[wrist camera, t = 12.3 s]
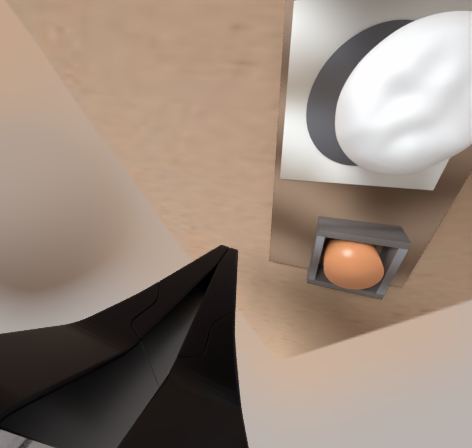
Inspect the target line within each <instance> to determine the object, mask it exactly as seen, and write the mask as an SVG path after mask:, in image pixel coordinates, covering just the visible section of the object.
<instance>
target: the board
mask: <svg viewBox="0 0 472 448" xmlns="http://www.w3.org/2000/svg"><path fill="white" fill-rule="evenodd" d="M450 11H472V0H286V6H285V21H284V37H283V53H282V68H281V84H280V100H279V115H278V131H277V147H276V162H275V178H274V194H273V209H272V225H271V241H270V256H269V261H273V262H277V263H282V264H287V265H292V266H297V267H302V268H307V269H308V278H307V283H309V284H314V285H318V286H323V287H327V288H332V289H336V290H341V291H345V292H350V293H354V294H359V295H363V296H368V297H372V298H377V299H381V300H382V298H383V296H384V294H385V292H386V290H387V288H388V287H389V285H392V286H397V287H402V286H403V285H404V283H405V281H406V280H407V278H408V276H409V275H410V273H411V271H412V270H413V268H414V266H415V265H416V263H417V261H418V260H419V258H420V256H421V255H422V253H423V251H424V250H425V248H426V246H427V244H428V243H429V241H430V239H431V238H432V236H433V234H434V233H435V231H436V229H437V228H438V226H439V224H440V223H441V221H442V219H443V218H444V216H445V214H446V213H447V211H448V209H449V208H450V206H451V204H452V202H453V201H454V199H455V197H456V196H457V194H458V192H459V191H460V189H461V187H462V186H463V184H464V182H465V181H466V179H467V177H468V176H469V174H470V172H471V171H472V144H471V145H470V146H469V147H468V148H466V149H465V150H463V151H462V152H460V153H458V154H456V155H454V156H452V157H450V158H448V159H446V160H444V161H442V162H440V163H438V164H436V165H433V166H431V167H429V168H426V169H424V170H421V171H418V172H414V173H409V174H402V175H389V174H382V173H377V172H373V171H369V170H367V169H364V168H362V167H360V166H358V165H357V164H355V163H354V162H353V161H351V160H350V159H349V158H348V157H347V156H346V154H345V153H344V152H343V150H342V149H341V147H340V145H339V143H338V141H337V137H336V132H335V114H336V107H337V102H338V99H339V96H340V93H341V91H342V89H343V86H344V84H345V83H346V81H347V79H348V77H349V76H350V74H351V73H352V71H353V70H354V69H355V67H356V66H357V65H358V63H359V62H360V61H361V60H362V59H363V58H364V57H365V56H366V55H367V54H368V53H369V52H370V51H371V50H372V49H373V48H374V47H375V46H376V45H378V44H379V43H380V42H381V41H383V40H384V39H385V38H386V37H388V36H389V35H391V34H392V33H393V32H395V31H396V30H398V29H400V28H401V27H403V26H405V25H407V24H409V23H411V22H413V21H416V20H418V19H421V18H424V17H427V16H430V15H434V14H438V13H443V12H450ZM327 238H334V239H341V240H348V241H354V242H361V243H367V244H374V245H376V248H377V251H378V253H379V256H380V259H381V262H382V264H383V267H384V275H383V277H382V279H381V280H380V281H379V282H378V283H377V284H375V285H374V286H372V287H369V288H366V289H359V290H352V289H345V288H342V287H339V286H337V285H335V284H333V283H332V282H330V281H329V280H328V278H327V277H326V275H325V273H324V253H323V247H324V243H325V241H326V240H327Z"/></svg>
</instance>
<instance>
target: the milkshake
mask: <svg viewBox="0 0 472 448" xmlns="http://www.w3.org/2000/svg"><path fill="white" fill-rule="evenodd" d="M335 132H336V137H337V141H338V143H339V145H340V147H341V149H342V150H343V152H344V153H345V154H346V156H347V157H348V158H349V159H350V160H351V161H353V162H354V163H355V164H357V165H358V166H360V167H362V168H364V169H367V170H369V171H373V172H377V173H382V174H389V175H402V174H409V173H414V172H418V171H421V170H424V169H426V168H429V167H431V166H433V165H436V164H438V163H440V162H442V161H444V160H446V159H448V158H450V157H452V156H454V155H456V154H458V153H460V152H462V151H463V150H465V149H466V148H468V147H469V146H470V145H471V144H472V11H450V12H443V13H438V14H434V15H430V16H427V17H424V18H421V19H418V20H416V21H413V22H411V23H409V24H407V25H405V26H403V27H401V28H400V29H398V30H396V31H395V32H393V33H392V34H391V35H389V36H388V37H386V38H385V39H384V40H383V41H381V42H380V43H379V44H378V45H376V46H375V47H374V48H373V49H372V50H371V51H370V52H369V53H368V54H367V55H366V56H365V57H364V58H363V59H362V60H361V61H360V62H359V63H358V65H357V66H356V67H355V69H354V70H353V71H352V73H351V74H350V76H349V77H348V79H347V81H346V83H345V84H344V86H343V89H342V91H341V93H340V96H339V99H338V102H337V107H336V114H335Z"/></svg>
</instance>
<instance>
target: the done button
mask: <svg viewBox="0 0 472 448" xmlns="http://www.w3.org/2000/svg"><path fill="white" fill-rule="evenodd" d="M323 253H324V273H325V275H326V277H327V278H328V280H329V281H330V282H332V283H333V284H335V285H337V286H339V287H342V288H345V289H352V290H359V289H366V288H369V287H372V286H374V285H375V284H377V283H378V282H379V281H380V280H381V279H382V277H383V275H384V267H383V264H382V262H381V259H380V256H379V253H378V251H377V248H376V245H374V244H367V243H361V242H354V241H348V240H341V239H334V238H327V240H326V241H325V243H324V247H323Z"/></svg>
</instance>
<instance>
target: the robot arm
mask: <svg viewBox="0 0 472 448" xmlns="http://www.w3.org/2000/svg"><path fill="white" fill-rule="evenodd" d="M237 264H238V250H236V249H233V248H229V247H227V246H224V245H220V246H218V247H217V248H215V249H213V250H212V251H210V252H208V253H207V254H205V255H203V256H201V257H200V258H198V259H196V260H195V261H193V262H192V263H190V264H188V265H186V266H185V267H183V268H181V269H180V270H178V271H176V272H175V273H173V274H171V275H169V276H168V277H166V278H164V279H163V280H161V281H160V282H157V283H156V284H154V285H152V286H150V287H149V288H147V289H145V290H143V291H141V292H140V293H138V294H136V295H134V296H132V297H130V298H128V299H126V300H124V301H122V302H120V303H118V304H115V305H113V306H111V307H109V308H107V309H105V310H103V311H101V312H99V313H97V314H95V315H93V316H90V317H88V318H86V319H83V320H80V321H78V322H74V323H70V324H66V325H60V326H53V327H45V328H39V329H31V330H24V331H17V332H11V333H3V334H0V448H249V447H248V442H247V437H246V432H245V426H244V420H243V414H242V408H241V400H240V391H239V380H238V369H237V358H236V346H235V308H236V286H237ZM168 373H169V374H168Z"/></svg>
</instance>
